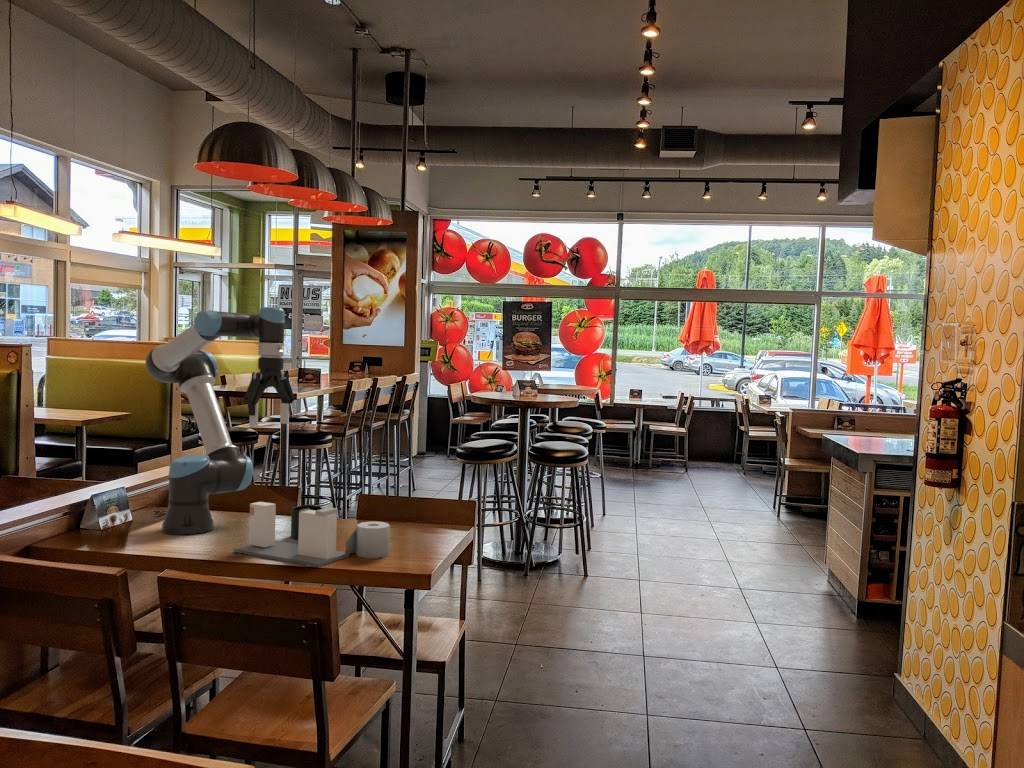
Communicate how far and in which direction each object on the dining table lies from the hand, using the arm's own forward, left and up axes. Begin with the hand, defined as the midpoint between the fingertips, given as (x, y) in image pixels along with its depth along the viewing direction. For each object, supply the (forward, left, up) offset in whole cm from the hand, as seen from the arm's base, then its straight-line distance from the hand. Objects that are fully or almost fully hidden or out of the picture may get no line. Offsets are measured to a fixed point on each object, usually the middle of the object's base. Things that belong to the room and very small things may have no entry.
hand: (269, 425), depth 240 cm
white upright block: (+11, -14, -33) cm, 38 cm away
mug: (+13, +5, -35) cm, 38 cm away
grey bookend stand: (+22, -14, -35) cm, 43 cm away
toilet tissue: (+40, -2, -35) cm, 53 cm away
